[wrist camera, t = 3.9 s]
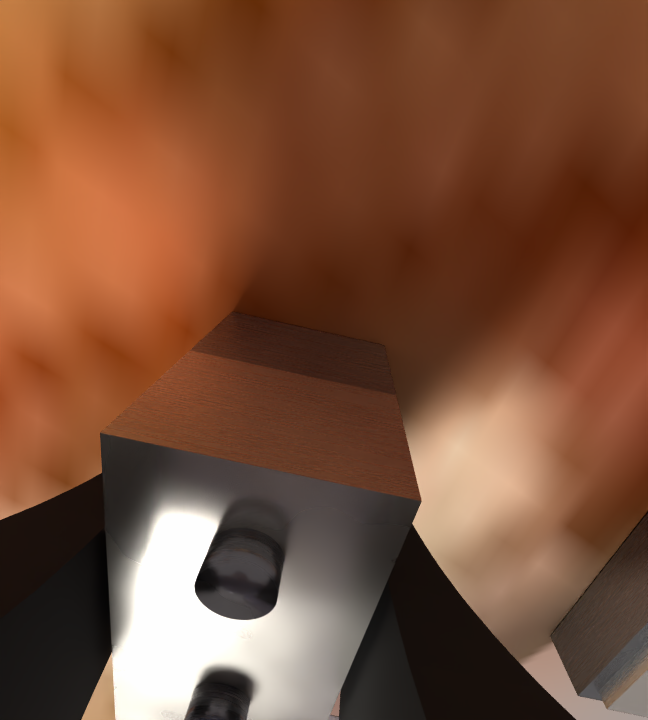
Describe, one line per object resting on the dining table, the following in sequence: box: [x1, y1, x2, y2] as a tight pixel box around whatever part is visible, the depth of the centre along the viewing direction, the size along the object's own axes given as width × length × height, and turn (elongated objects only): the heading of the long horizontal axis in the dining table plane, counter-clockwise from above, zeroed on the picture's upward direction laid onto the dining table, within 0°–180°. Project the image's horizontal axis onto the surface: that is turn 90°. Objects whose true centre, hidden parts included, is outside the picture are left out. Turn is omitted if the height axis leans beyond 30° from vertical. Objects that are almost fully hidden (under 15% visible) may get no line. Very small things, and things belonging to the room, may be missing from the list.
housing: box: [100, 312, 421, 720], centre depth 9 cm, size 8×4×7 cm, turn 168°
